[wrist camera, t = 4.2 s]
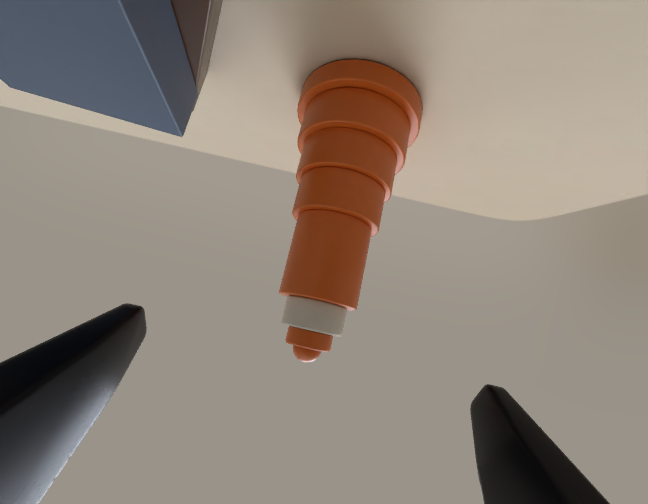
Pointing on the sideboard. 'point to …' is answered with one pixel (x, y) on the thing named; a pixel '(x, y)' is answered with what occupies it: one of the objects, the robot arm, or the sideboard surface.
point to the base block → (197, 33)
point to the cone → (342, 191)
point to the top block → (100, 58)
